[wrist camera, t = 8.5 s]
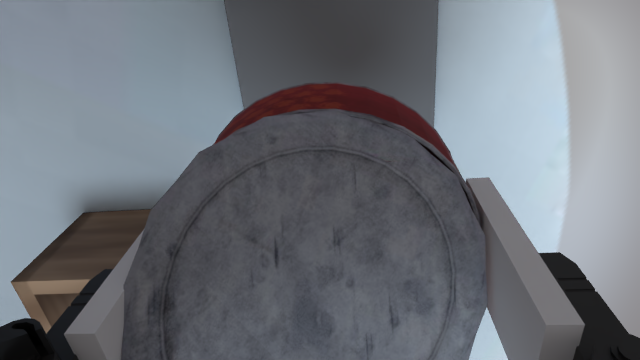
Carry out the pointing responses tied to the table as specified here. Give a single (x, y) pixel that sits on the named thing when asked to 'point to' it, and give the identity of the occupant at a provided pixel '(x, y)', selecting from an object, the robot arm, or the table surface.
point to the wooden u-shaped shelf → (76, 261)
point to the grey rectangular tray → (337, 46)
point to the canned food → (312, 240)
